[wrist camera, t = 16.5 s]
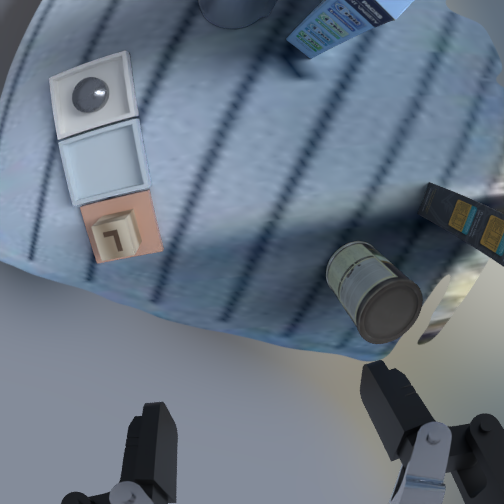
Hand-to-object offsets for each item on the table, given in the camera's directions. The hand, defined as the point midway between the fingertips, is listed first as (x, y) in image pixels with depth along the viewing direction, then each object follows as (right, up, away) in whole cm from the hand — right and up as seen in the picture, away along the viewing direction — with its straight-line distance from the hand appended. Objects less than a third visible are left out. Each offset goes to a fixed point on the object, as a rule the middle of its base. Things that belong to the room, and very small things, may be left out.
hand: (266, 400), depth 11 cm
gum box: (+12, +41, +24) cm, 49 cm away
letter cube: (-19, +9, +32) cm, 39 cm away
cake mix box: (+39, +13, +40) cm, 57 cm away
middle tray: (-21, +19, +29) cm, 40 cm away
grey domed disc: (-22, +27, +24) cm, 43 cm away
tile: (-20, +10, +33) cm, 40 cm away
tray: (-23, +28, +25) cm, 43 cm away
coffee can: (+17, +3, +41) cm, 44 cm away
